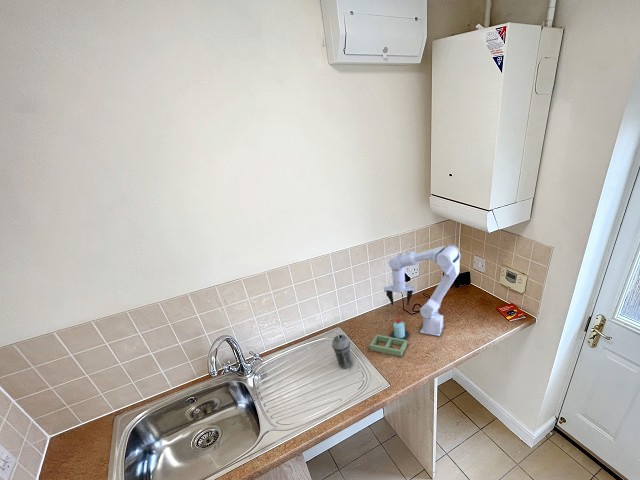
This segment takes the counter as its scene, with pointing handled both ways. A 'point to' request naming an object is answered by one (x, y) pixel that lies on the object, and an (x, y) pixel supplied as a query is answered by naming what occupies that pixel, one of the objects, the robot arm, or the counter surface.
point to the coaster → (400, 338)
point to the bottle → (399, 329)
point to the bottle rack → (388, 345)
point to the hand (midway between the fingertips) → (400, 304)
